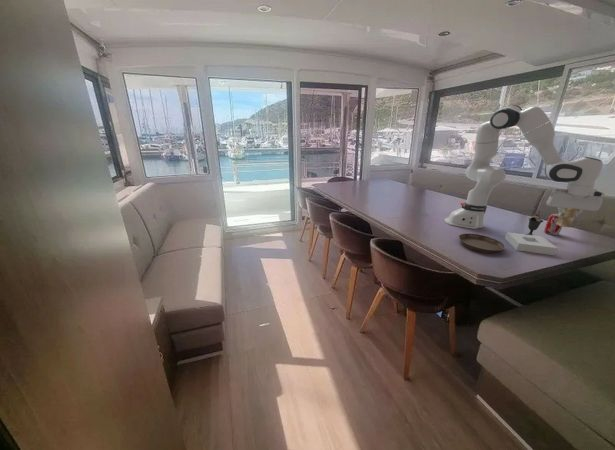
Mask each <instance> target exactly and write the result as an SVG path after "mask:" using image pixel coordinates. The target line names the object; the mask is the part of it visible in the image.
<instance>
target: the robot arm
mask: <svg viewBox="0 0 615 450" xmlns="http://www.w3.org/2000/svg"><path fill="white" fill-rule="evenodd" d="M513 127H517V128H518V129H519V130H520V132H521V133H522V135H523V137H524V139H526V141H527V142H528V144H530V145H531V146H532V147H533V149H534V148H535V149H536V151H537V152H538V153H539V156H540V157H541V159H542V161H543V163H544V174H545V176H546V178H548V179H549V180H551V181H553V182H558V183H565V182H566V183H567V182H568V184H567V185H566V188H565V189H564V188H555V189H553V190H552V191H551V192H550V194H549V197H548V199H547V200H546V202H545V204H546V206H548V207H552V208H553V207H554V208H557V210H558V213H557V214H558V215H559V216H564V213H563V212H562V210H563V209H564V208H573V209H578V211H577V213H576V215H575V217H574V219H576V218H578V216H579V215H580V214H581V213H583V211H591V212H597V211H599V210H600V209H601V206H602V204H603V201H604V199H603V197H604V196H605V192H602V191H599V190H597V189H596V188H595V189H594V187H595V182H596V181H597V179H598V178H599V176H600V175H601V172H602V170H603V169H602V168H603V165H604V163H603V160H601V159H599V158H595V157H590V156H582V157H579V158H577V159H573V160H570V161H565V160H563V159H562V158H561V156H560V155H559V153H558V150H557V148H556V146H555V144H554V138H555V135H556V132H555V128H554V126H553V123H552V121H551V120H550V117H548V115H547V114H546V113H545V112H544V110H543V109H542V108H541V107H539V106H535V105H534V106H530V107H527V108H525V109H523V108H522V107H521V106H519V105H517V104H511V105H506V106H503V107H502V108H499V109H497V110H496V111H494V112H493V114H492V115H491V117H490V119H489V121H486V122H485V121H484V122H483V123H481V124H480V125H479V126H478V128H477V132H476V137H475V146H474V155H473V158H472V161H471V163H470V164H469V165H468V166H467V168H466V169H465V171H464V172H465V176H466V177H467V178H468V179H469V180H471V181H473V182H476V184H475V186H474V187H473V188H472V189H470V190H469V191H468V192H467V193H468V194H467V198H466V202H463V201H461V202H460V203H459V204H460V206H461V207H460V208H458V209H457V208H456V210H453V211H451V213H449V216H448V217H445V218H444V223H446V224H447V225H450V226H453V227H454V226H455V227H460V228H461V227H462V228H466V229H467V228H468V229H472V230H477V229H480V228H484V218H485V213H486V211H487V208H488V206H487V203H488V200H489V197H490V195H491V193H492V192H493V189H495V188H496V186H498V185H499V184H500V185H501V183H503V182H504V180H505V179H506V176H507V175H506V171H505V170H504V169H503V168H501V167H499V166H496V165H490V164H491V161H492V159H493V158H495V157H496V155H497V154H498V150H499V149H498V148H499V138H500V134H501V132H502V130H505V129H508V128H513Z"/></svg>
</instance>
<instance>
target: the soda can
mask: <svg viewBox="0 0 615 450" xmlns="http://www.w3.org/2000/svg"><path fill="white" fill-rule="evenodd" d="M558 218H559V215H558V213H551V215H549V216H548V219H547V220H546V223H545V226H544V229H543V232H544V233H545V234H547V235H552V236H557V235H560V232H562V229H563V227H562V226H559V225H557V224H556V223H557V220H558Z"/></svg>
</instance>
